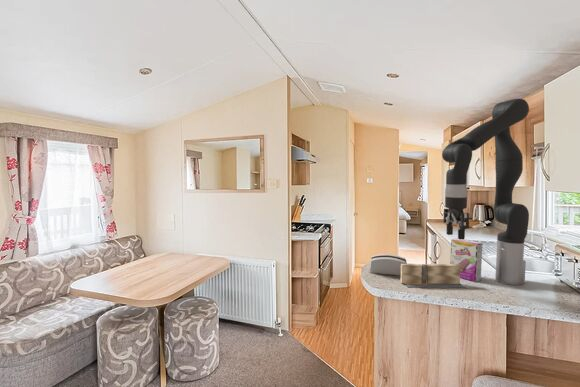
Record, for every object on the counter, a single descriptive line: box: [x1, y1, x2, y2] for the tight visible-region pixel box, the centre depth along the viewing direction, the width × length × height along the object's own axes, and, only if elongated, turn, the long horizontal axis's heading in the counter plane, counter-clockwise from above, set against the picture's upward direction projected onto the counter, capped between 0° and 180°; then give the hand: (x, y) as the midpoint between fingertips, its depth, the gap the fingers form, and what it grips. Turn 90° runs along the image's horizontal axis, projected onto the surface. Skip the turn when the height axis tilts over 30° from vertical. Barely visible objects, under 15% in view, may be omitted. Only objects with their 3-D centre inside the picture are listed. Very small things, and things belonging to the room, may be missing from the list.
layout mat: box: [396, 275, 467, 289], centre depth 133 cm, size 23×20×1 cm
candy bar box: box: [449, 237, 483, 283], centre depth 134 cm, size 11×5×16 cm, turn 34°
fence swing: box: [426, 263, 461, 284], centre depth 126 cm, size 13×2×8 cm, turn 88°
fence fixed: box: [400, 263, 427, 284], centre depth 127 cm, size 10×2×8 cm, turn 88°
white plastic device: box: [369, 253, 408, 276], centre depth 139 cm, size 17×5×10 cm, turn 69°
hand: (455, 236), depth 121 cm, fingers open, 8 cm apart
